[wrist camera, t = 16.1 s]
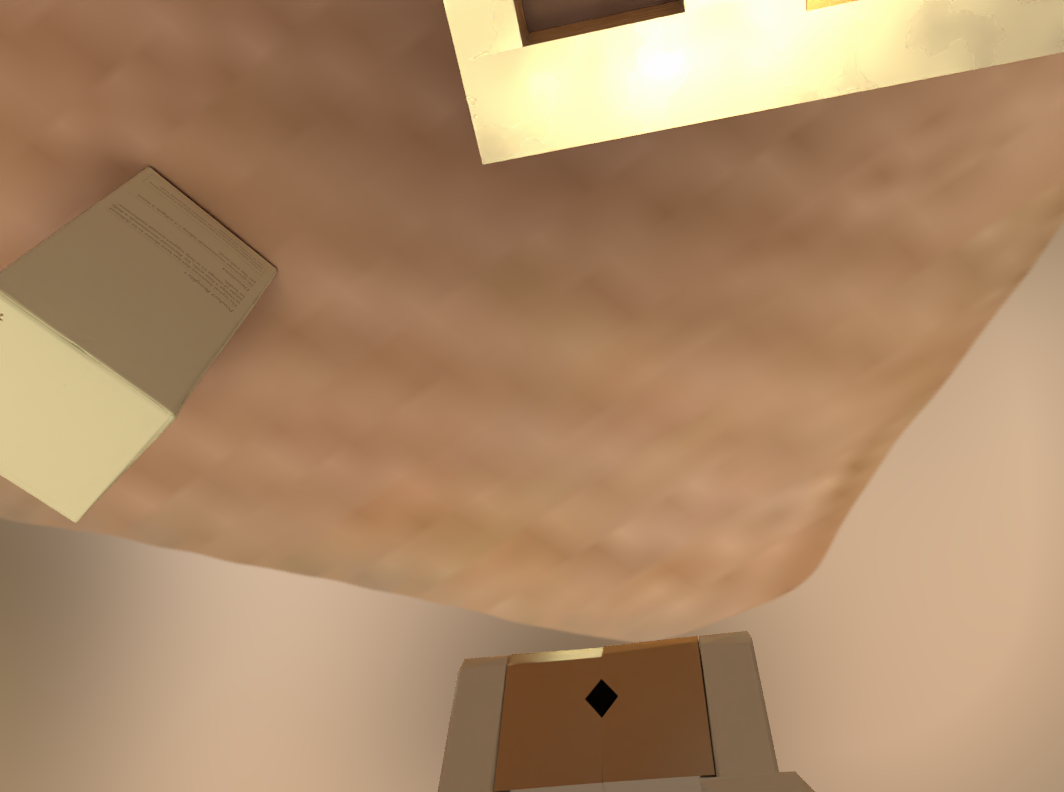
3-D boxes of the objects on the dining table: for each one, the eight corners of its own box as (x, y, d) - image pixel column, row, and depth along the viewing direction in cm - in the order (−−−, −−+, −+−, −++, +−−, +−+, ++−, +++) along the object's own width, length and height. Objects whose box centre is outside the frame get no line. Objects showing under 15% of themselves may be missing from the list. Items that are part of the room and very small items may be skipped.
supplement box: (69, 269, 42) (-112, 411, 31) (150, 160, 39) (-19, 276, 28) (199, 366, 44) (72, 530, 34) (285, 272, 41) (177, 418, 31)
